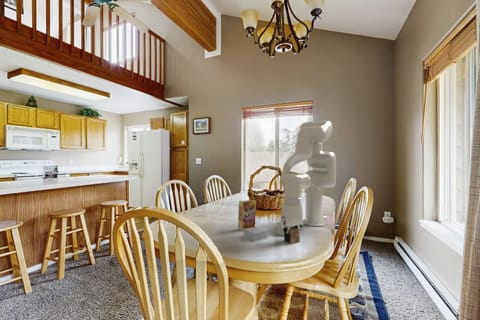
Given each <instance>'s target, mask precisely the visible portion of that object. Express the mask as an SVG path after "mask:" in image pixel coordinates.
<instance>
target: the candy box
mask: <svg viewBox="0 0 480 320" xmlns="http://www.w3.org/2000/svg"><path fill="white" fill-rule="evenodd" d="M256 211H257V200H254V199H249V200H239V201H238V212H237V213H238V214H237V215H238V217H237V218H238V219H237V230H238V231H240V232H244V229H247V228H252V227H256V215H257V212H256Z"/></svg>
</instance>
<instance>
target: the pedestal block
mask: <svg viewBox="0 0 480 320" xmlns="http://www.w3.org/2000/svg"><path fill="white" fill-rule="evenodd" d="M268 234H269V233H268V230H267V229H264V228H263V227H262V228H261V227H260V226H256V225H255V227H252V228H247V229H244V231H243V237H244V238H245V237H246V239H248V240H250V241H252V242H254V241H255V242H259V241H262V240H265V239H268ZM255 242H254V243H255Z"/></svg>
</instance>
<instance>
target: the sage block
mask: <svg viewBox="0 0 480 320" xmlns="http://www.w3.org/2000/svg"><path fill="white" fill-rule="evenodd" d="M276 225H277V226H276V234H277V235H280V236H283V235H284V232H283V230H282V229H281V228H280V227H279V225H280V220H279V221H277V222H276Z"/></svg>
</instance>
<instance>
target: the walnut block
mask: <svg viewBox="0 0 480 320" xmlns="http://www.w3.org/2000/svg"><path fill="white" fill-rule="evenodd" d="M286 229H287V228H286ZM289 233H290V242H287V241H285V240H284V239H283V241H284V242H286V243H288V244H290V245H293V244H297V243H300V241H301V240H300V239H301V238H300V234H301V230H300V229H298V228H295V227H294V226H292V227H290V231H289Z"/></svg>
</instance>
